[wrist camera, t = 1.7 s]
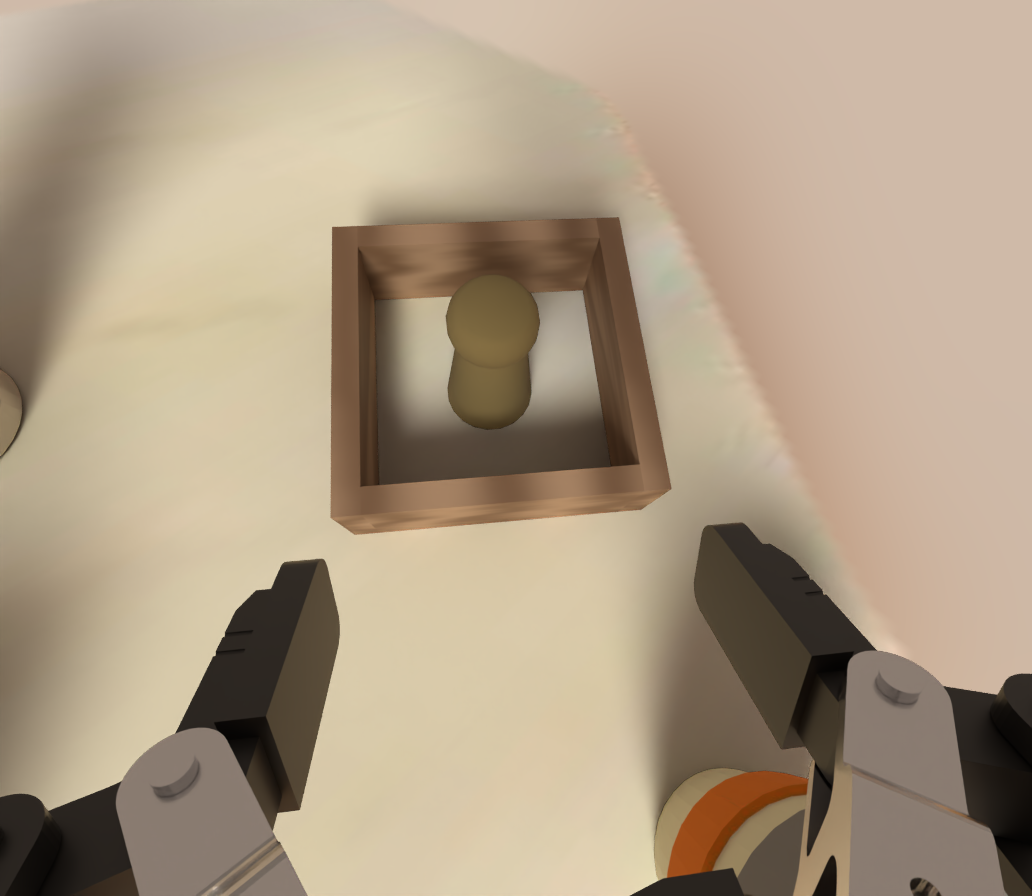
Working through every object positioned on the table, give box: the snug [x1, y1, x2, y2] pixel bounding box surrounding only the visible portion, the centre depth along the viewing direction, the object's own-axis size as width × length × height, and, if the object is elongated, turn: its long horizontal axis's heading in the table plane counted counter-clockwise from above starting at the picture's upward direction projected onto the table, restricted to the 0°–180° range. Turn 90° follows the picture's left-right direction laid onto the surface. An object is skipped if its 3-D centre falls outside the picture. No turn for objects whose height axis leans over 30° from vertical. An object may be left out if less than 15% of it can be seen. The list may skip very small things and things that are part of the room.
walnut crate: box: [331, 217, 671, 535], centre depth 35 cm, size 19×19×6 cm
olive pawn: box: [446, 274, 540, 430], centre depth 33 cm, size 6×6×11 cm
